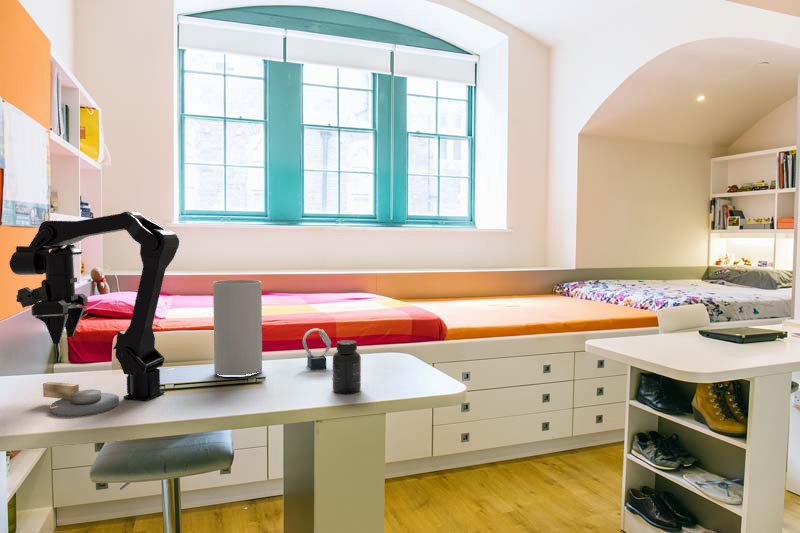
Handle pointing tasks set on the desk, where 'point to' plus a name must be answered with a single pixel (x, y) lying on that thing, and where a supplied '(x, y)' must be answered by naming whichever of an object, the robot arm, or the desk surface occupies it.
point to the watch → (317, 359)
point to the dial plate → (84, 406)
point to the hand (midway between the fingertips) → (63, 340)
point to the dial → (70, 393)
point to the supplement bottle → (346, 368)
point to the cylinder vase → (237, 327)
